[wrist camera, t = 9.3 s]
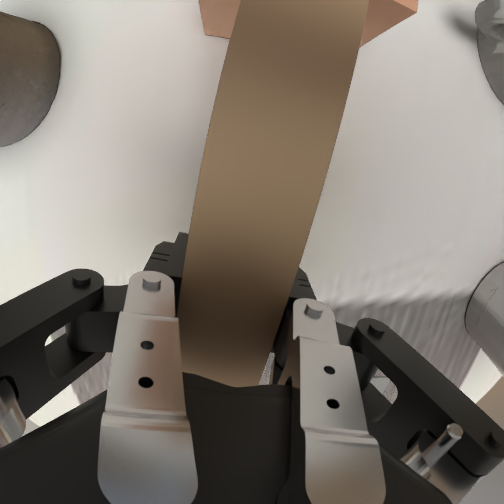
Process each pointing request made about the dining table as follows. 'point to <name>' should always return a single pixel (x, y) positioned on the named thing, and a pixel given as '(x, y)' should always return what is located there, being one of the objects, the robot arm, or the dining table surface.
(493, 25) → the coffee mug
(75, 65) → the dining table surface
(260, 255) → the curved tan slat
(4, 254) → the dining table surface
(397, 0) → the tile
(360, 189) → the dining table surface
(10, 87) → the pillar candle
